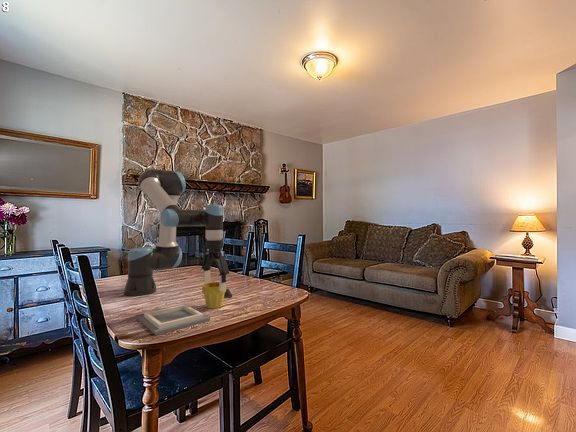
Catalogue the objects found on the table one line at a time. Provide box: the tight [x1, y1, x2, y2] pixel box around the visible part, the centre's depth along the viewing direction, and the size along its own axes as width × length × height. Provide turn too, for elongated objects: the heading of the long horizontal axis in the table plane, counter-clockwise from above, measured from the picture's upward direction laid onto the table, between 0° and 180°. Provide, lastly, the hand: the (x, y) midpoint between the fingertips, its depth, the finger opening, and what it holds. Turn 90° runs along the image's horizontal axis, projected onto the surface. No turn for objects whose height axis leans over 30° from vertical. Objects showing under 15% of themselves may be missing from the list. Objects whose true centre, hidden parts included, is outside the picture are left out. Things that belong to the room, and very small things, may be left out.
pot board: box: [137, 304, 211, 336], centre depth 113 cm, size 20×20×2 cm
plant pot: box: [201, 281, 226, 309], centre depth 130 cm, size 10×10×10 cm
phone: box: [223, 288, 233, 299], centre depth 150 cm, size 8×1×15 cm
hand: (214, 287), depth 130 cm, fingers open, 13 cm apart
